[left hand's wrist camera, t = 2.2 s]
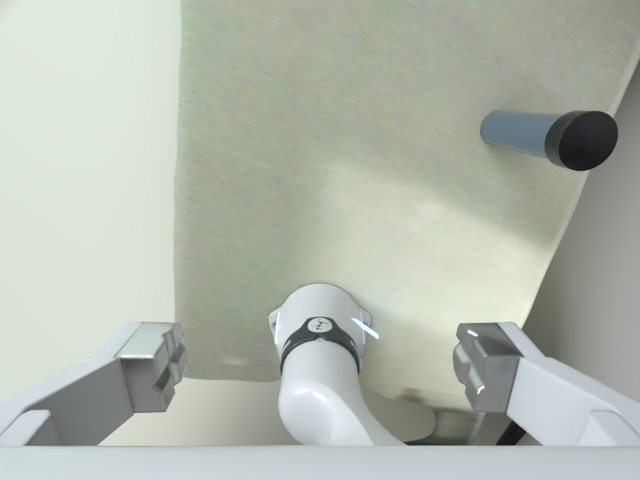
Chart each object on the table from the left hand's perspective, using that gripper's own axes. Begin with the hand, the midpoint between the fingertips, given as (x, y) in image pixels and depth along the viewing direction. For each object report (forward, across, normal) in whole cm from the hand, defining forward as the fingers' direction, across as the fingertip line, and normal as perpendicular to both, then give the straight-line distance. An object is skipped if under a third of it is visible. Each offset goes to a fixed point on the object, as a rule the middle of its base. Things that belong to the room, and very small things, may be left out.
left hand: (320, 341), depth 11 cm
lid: (+28, +27, +3) cm, 39 cm away
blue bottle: (+48, +27, +3) cm, 55 cm away
